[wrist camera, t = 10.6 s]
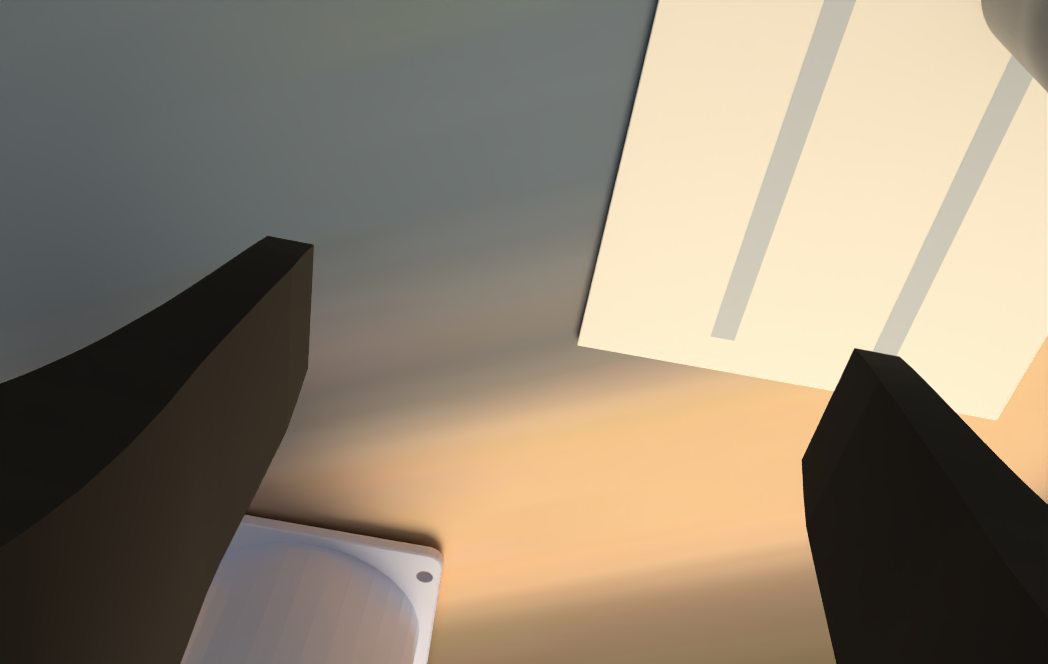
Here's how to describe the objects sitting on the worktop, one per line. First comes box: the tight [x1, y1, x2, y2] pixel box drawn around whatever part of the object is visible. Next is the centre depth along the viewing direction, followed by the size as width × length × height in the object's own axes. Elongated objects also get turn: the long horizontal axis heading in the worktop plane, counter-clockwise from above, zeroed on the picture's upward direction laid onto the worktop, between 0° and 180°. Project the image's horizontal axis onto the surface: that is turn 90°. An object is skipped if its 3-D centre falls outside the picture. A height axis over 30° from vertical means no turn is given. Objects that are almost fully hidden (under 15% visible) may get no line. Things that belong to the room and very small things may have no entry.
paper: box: [577, 0, 1048, 420], centre depth 21 cm, size 13×11×1 cm
